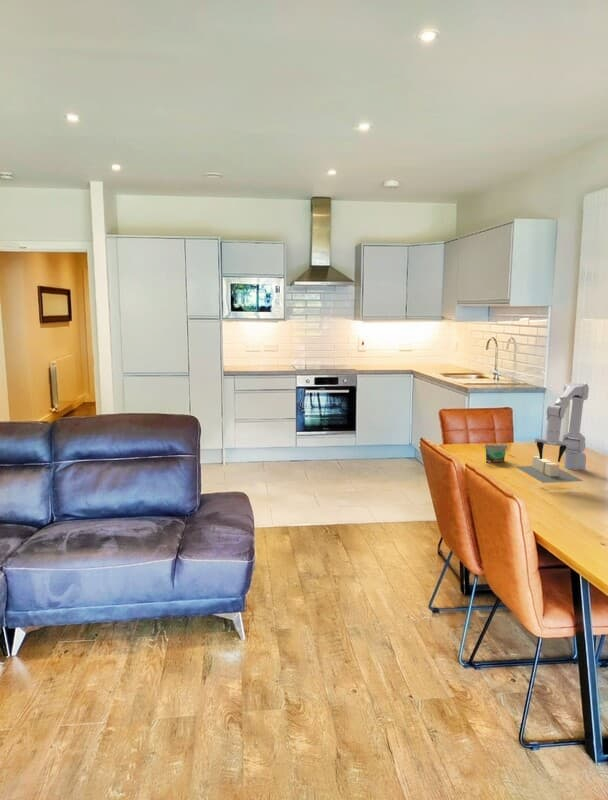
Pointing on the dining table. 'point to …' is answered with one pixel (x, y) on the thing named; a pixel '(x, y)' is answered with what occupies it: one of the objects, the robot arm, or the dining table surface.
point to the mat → (545, 478)
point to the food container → (495, 453)
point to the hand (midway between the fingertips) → (549, 460)
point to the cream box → (539, 463)
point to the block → (551, 469)
